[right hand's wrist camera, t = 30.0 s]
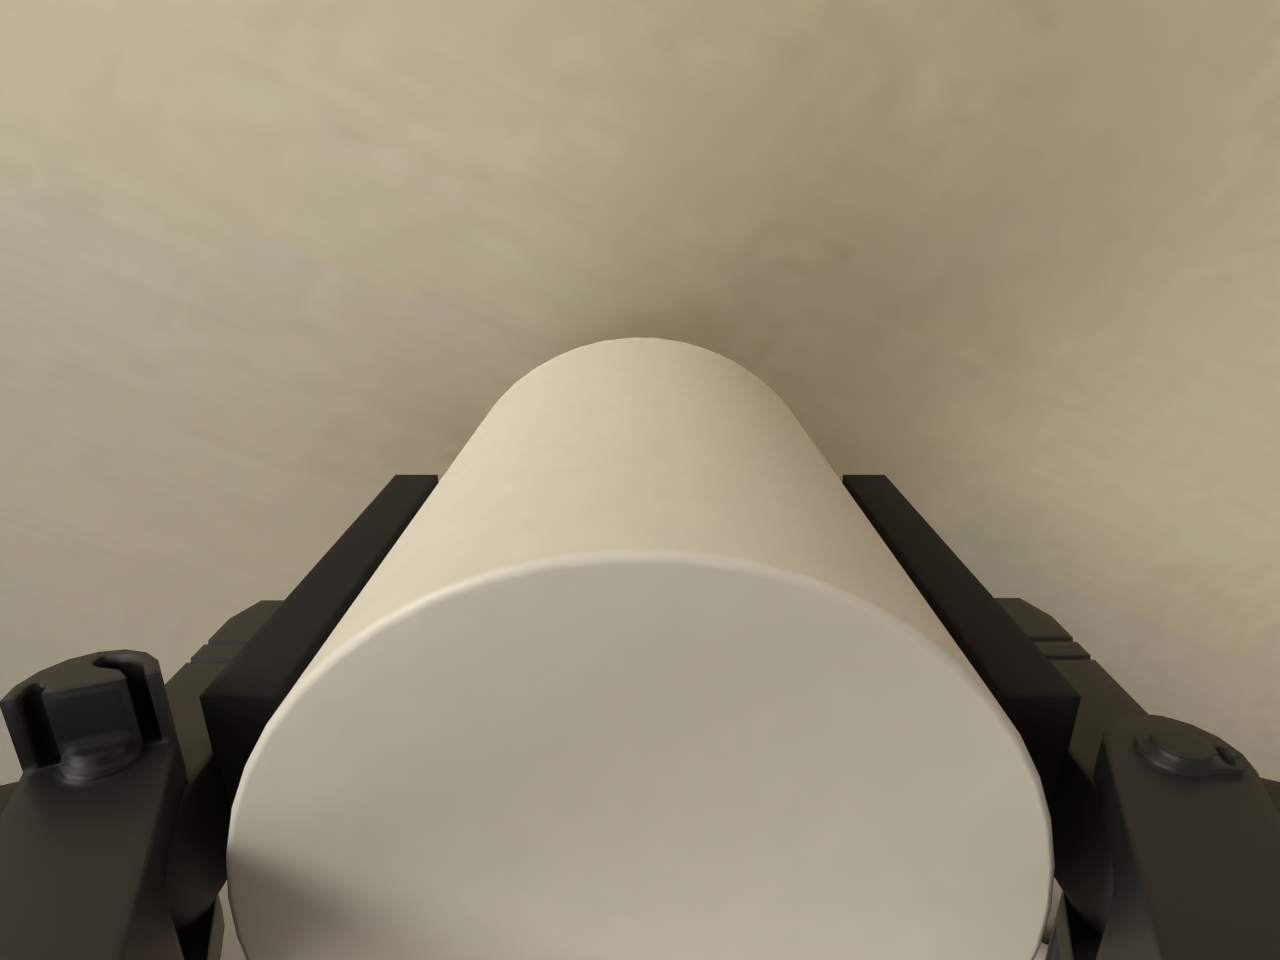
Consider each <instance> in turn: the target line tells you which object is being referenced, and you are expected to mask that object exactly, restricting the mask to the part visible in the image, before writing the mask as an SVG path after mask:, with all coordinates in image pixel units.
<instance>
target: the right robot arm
mask: <svg viewBox="0 0 1280 960" xmlns="http://www.w3.org/2000/svg"><path fill="white" fill-rule="evenodd" d="M437 484H438V475H395V476H394V478H393V479H392V480H391V481H390V482H389V483H388V484H387V485H386V487H385V488H384V489H383V490H382V491H381V492H380V493H379V494H378V496H377V497H376V498H375V499H374V500H373V501H372V502H371V504H370V505H369V506H368V507H367V508H366V509H365V510H364V511H363V513H362V514H361V515H360V516H359V517H358V518H357V519H356V520H355V522H354V523H353V524H352V525H351V526H350V527H349V528H348V529H347V531H346V532H345V533H344V534H343V535H342V536H341V537H340V538H339V540H338V541H337V542H336V543H335V544H334V545H333V546H332V547H331V549H330V550H329V551H328V552H327V553H326V554H325V555H324V557H323V558H322V559H321V560H320V561H319V562H318V563H317V564H316V566H315V567H314V568H313V569H312V570H311V571H310V572H309V573H308V575H307V576H306V577H305V578H304V579H303V580H302V581H301V582H300V584H299V585H298V586H297V587H296V588H295V589H294V590H293V591H292V593H291V594H290V595H289V596H288V597H287V598H286V599H285V600H284V601H260V602H258V603H256V604H255V605H253V606H251V607H249V608H248V609H246V610H244V611H242V612H241V613H239V614H237V615H235V616H234V617H232V618H230V619H229V620H228V621H227V622H226V623H225V624H224V625H223V626H222V627H221V628H220V629H219V630H218V631H217V632H216V633H215V634H214V635H213V636H212V637H211V638H210V639H209V643H208V645H203V646H202V648H201V649H200V650H199V651H198V652H197V653H196V654H195V655H194V656H193V657H192V658H191V663H186V664H185V665H184V666H183V667H182V668H181V669H180V670H179V671H178V672H177V673H176V674H175V675H174V676H173V677H172V678H171V679H170V680H169V681H168V682H167V683H166V684H165V685H164V681H163V677H162V674H161V670H160V666H159V662H158V660H157V659H155V658H154V657H152V656H151V655H149V654H148V653H146V652H140V651H133V650H115V651H104V652H97V653H93V654H89V655H85V656H81V657H77V658H73V659H69V660H66V661H64V662H61V663H59V664H57V665H54V666H52V667H49V668H47V669H44V670H42V671H39V672H38V673H36V674H34V675H33V676H31V677H29V678H28V679H26V680H25V681H23V682H21V683H20V684H18V685H16V686H15V687H14V688H13V689H12V690H11V691H10V692H9V693H8V694H7V695H6V696H5V697H4V698H3V699H2V700H1V701H0V708H1V710H2V713H3V716H4V719H5V722H6V725H7V728H8V730H9V733H10V736H11V739H12V742H13V745H14V747H15V750H16V753H17V756H18V759H19V762H20V765H21V767H22V770H23V775H22V776H21V778H20V780H19V782H15V783H11V784H6V785H1V786H0V960H220V957H221V949H222V942H223V934H224V926H225V925H224V918H223V911H222V906H221V902H220V899H219V895H218V893H219V892H220V890H221V888H222V887H223V885H224V883H225V882H226V880H227V865H226V851H227V843H228V835H229V827H230V819H231V811H232V806H233V803H234V799H235V796H236V793H237V790H238V787H239V783H240V780H241V777H242V774H243V771H244V767H245V765H246V763H247V761H248V759H249V757H250V755H251V753H252V751H253V749H254V747H255V745H256V744H257V742H258V740H259V738H260V736H261V734H262V732H263V730H264V728H265V726H266V724H267V723H268V721H269V720H270V719H271V717H272V716H273V714H274V713H275V712H276V710H277V709H278V707H279V706H280V705H281V703H282V702H283V700H284V699H285V698H286V696H287V695H288V693H289V692H290V691H291V689H292V688H293V686H294V685H295V684H296V682H297V681H298V679H299V678H300V677H301V675H302V674H303V672H304V671H305V670H306V668H307V667H308V665H309V664H310V663H311V661H312V660H313V658H314V657H315V656H316V654H317V653H318V651H319V650H320V649H321V647H322V646H323V644H324V643H325V642H326V640H327V639H328V637H329V636H330V634H331V633H332V632H333V630H334V629H335V627H336V626H337V625H338V623H339V622H340V620H341V619H342V618H343V616H344V615H345V613H346V612H347V611H348V609H349V608H350V606H351V605H352V604H353V602H354V601H355V599H356V598H357V597H358V595H359V594H360V592H361V591H362V590H363V588H364V587H365V585H366V584H367V583H368V581H369V580H370V578H371V577H372V576H373V574H374V573H375V571H376V570H377V569H378V567H379V566H380V564H381V563H382V562H383V560H384V559H385V557H386V556H387V555H388V553H389V552H390V550H391V549H392V548H393V546H394V545H395V543H396V542H397V541H398V539H399V538H400V536H401V535H402V533H403V532H404V531H405V529H406V528H407V526H408V525H409V524H410V522H411V521H412V519H413V518H414V517H415V515H416V514H417V512H418V511H419V510H420V508H421V507H422V505H423V504H424V503H425V501H426V500H427V498H428V497H429V496H430V494H431V493H432V491H433V490H434V489H435V487H436V486H437ZM842 484H843V485H844V486H845V488H846V489H847V491H848V492H849V493H850V495H851V496H852V498H853V499H854V500H855V502H856V503H857V505H858V506H859V507H860V509H861V510H862V512H863V513H864V515H865V516H866V517H867V519H868V520H869V522H870V523H871V524H872V526H873V527H874V529H875V530H876V531H877V533H878V534H879V536H880V537H881V538H882V540H883V541H884V543H885V544H886V545H887V547H888V548H889V550H890V551H891V552H892V554H893V555H894V557H895V558H896V560H897V561H898V562H899V564H900V565H901V567H902V568H903V569H904V571H905V572H906V574H907V575H908V576H909V578H910V579H911V581H912V582H913V583H914V585H915V586H916V588H917V589H918V590H919V592H920V593H921V595H922V596H923V598H924V599H925V600H926V602H927V603H928V605H929V606H930V607H931V609H932V610H933V612H934V613H935V614H936V616H937V617H938V619H939V620H940V621H941V623H942V624H943V626H944V627H945V628H946V630H947V631H948V633H949V634H950V635H951V637H952V638H953V640H954V641H955V643H956V644H957V645H958V647H959V648H960V650H961V651H962V652H963V654H964V655H965V657H966V658H967V659H968V661H969V662H970V664H971V665H972V666H973V668H974V669H975V671H976V672H977V673H978V675H979V676H980V678H981V679H982V680H983V682H984V683H985V685H986V686H987V688H988V689H989V690H990V692H991V693H992V695H993V696H994V697H995V699H996V700H997V702H998V703H999V705H1000V706H1001V708H1002V709H1003V710H1004V712H1005V713H1006V715H1007V716H1008V718H1009V719H1010V721H1011V722H1012V723H1013V725H1014V726H1015V728H1016V729H1017V731H1018V732H1019V734H1020V735H1021V737H1022V739H1023V742H1024V744H1025V746H1026V748H1027V750H1028V752H1029V754H1030V757H1031V759H1032V761H1033V763H1034V765H1035V767H1036V770H1037V772H1038V774H1039V776H1040V779H1041V783H1042V787H1043V791H1044V795H1045V798H1046V802H1047V806H1048V810H1049V813H1050V817H1051V825H1052V838H1053V850H1054V863H1055V870H1054V877H1055V878H1056V880H1057V882H1058V883H1059V885H1060V887H1061V888H1062V890H1063V891H1062V895H1061V899H1060V902H1059V906H1058V910H1057V914H1056V918H1055V922H1054V926H1053V930H1052V934H1051V937H1050V941H1049V945H1048V949H1047V953H1046V957H1045V960H1280V782H1277V781H1272V780H1267V779H1263V778H1260V777H1259V775H1258V773H1257V771H1256V770H1255V769H1254V768H1253V767H1252V765H1251V764H1250V763H1249V762H1248V760H1247V759H1246V758H1245V757H1244V756H1243V754H1241V753H1240V752H1239V751H1237V750H1236V749H1234V748H1233V747H1232V746H1230V745H1229V744H1227V743H1226V742H1225V741H1223V740H1222V739H1220V738H1219V737H1217V736H1215V735H1212V734H1210V733H1208V732H1206V731H1204V730H1202V729H1200V728H1198V727H1196V726H1193V725H1191V724H1188V723H1184V722H1181V721H1178V720H1174V719H1171V718H1167V717H1164V716H1156V715H1148V714H1147V712H1146V711H1145V710H1144V709H1143V708H1142V707H1141V706H1140V705H1139V704H1138V703H1137V702H1136V701H1135V700H1134V699H1133V698H1132V697H1131V696H1130V695H1129V694H1128V693H1127V692H1126V691H1125V690H1124V689H1123V688H1122V687H1121V686H1120V685H1119V684H1118V683H1117V682H1116V681H1115V680H1114V679H1113V678H1112V677H1111V676H1110V675H1109V674H1108V673H1107V672H1106V671H1105V670H1104V669H1103V668H1102V667H1101V666H1100V665H1099V664H1098V663H1097V662H1096V661H1095V660H1091V659H1090V655H1089V654H1088V653H1087V652H1086V651H1085V650H1084V649H1083V648H1082V647H1081V646H1080V645H1079V644H1078V643H1077V642H1073V638H1072V636H1071V635H1070V634H1069V633H1068V632H1067V631H1066V630H1065V629H1064V628H1063V627H1062V626H1061V625H1060V624H1059V623H1058V622H1057V621H1056V620H1055V619H1054V618H1053V617H1052V616H1050V615H1048V614H1047V613H1045V612H1043V611H1041V610H1040V609H1038V608H1036V607H1034V606H1032V605H1031V604H1029V603H1027V602H1025V601H1024V600H1022V599H1020V598H993V596H992V595H991V594H990V593H989V592H988V591H987V590H986V589H985V587H984V586H983V585H982V584H981V583H980V582H979V581H978V580H977V578H976V577H975V576H974V575H973V574H972V573H971V572H970V571H969V569H968V568H967V567H966V566H965V565H964V564H963V563H962V562H961V560H960V559H959V558H958V557H957V556H956V555H955V554H954V553H953V551H952V550H951V549H950V548H949V547H948V546H947V545H946V544H945V542H944V541H943V540H942V539H941V538H940V537H939V536H938V534H937V533H936V532H935V531H934V530H933V529H932V528H931V527H930V525H929V524H928V523H927V522H926V521H925V520H924V519H923V518H922V516H921V515H920V514H919V513H918V512H917V511H916V510H915V509H914V507H913V506H912V505H911V504H910V503H909V502H908V501H907V500H906V498H905V497H904V496H903V495H902V494H901V493H900V492H899V491H898V489H897V488H896V487H895V486H894V485H893V484H892V483H891V482H890V480H889V479H888V478H887V477H886V476H885V475H843V480H842Z"/></svg>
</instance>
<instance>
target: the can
mask: <svg viewBox="0 0 1280 960" xmlns="http://www.w3.org/2000/svg"><path fill="white" fill-rule="evenodd" d="M226 865H227V884H228V898H229V903H230V907H231V911H232V916H233V920H234V924H235V929H236V933H237V937H238V939H239V942H240V944H241V947H242V949H243V951H244V954H245V956H246V959H247V960H1034V959H1035V956H1036V954H1037V952H1038V950H1039V948H1040V945H1041V941H1042V938H1043V934H1044V930H1045V927H1046V923H1047V920H1048V916H1049V912H1050V909H1051V901H1052V891H1053V880H1054V870H1055V863H1054V850H1053V838H1052V825H1051V817H1050V813H1049V810H1048V806H1047V802H1046V798H1045V795H1044V791H1043V787H1042V783H1041V779H1040V776H1039V774H1038V772H1037V770H1036V767H1035V765H1034V763H1033V761H1032V759H1031V757H1030V754H1029V752H1028V750H1027V748H1026V746H1025V744H1024V742H1023V739H1022V737H1021V735H1020V734H1019V732H1018V731H1017V729H1016V728H1015V726H1014V725H1013V723H1012V722H1011V721H1010V719H1009V718H1008V716H1007V715H1006V713H1005V712H1004V710H1003V709H1002V708H1001V706H1000V705H999V703H998V702H997V700H996V699H995V697H994V696H993V695H992V693H991V692H990V690H989V689H988V688H987V686H986V685H985V683H984V682H983V680H982V679H981V678H980V676H979V675H978V673H977V672H976V671H975V669H974V668H973V666H972V665H971V664H970V662H969V661H968V659H967V658H966V657H965V655H964V654H963V652H962V651H961V650H960V648H959V647H958V645H957V644H956V643H955V641H954V640H953V638H952V637H951V635H950V634H949V633H948V631H947V630H946V628H945V627H944V626H943V624H942V623H941V621H940V620H939V619H938V617H937V616H936V614H935V613H934V612H933V610H932V609H931V607H930V606H929V605H928V603H927V602H926V600H925V599H924V598H923V596H922V595H921V593H920V592H919V590H918V589H917V588H916V586H915V585H914V583H913V582H912V581H911V579H910V578H909V576H908V575H907V574H906V572H905V571H904V569H903V568H902V567H901V565H900V564H899V562H898V561H897V560H896V558H895V557H894V555H893V554H892V552H891V551H890V550H889V548H888V547H887V545H886V544H885V543H884V541H883V540H882V538H881V537H880V536H879V534H878V533H877V531H876V530H875V529H874V527H873V526H872V524H871V523H870V522H869V520H868V519H867V517H866V516H865V515H864V513H863V512H862V510H861V509H860V507H859V506H858V505H857V503H856V502H855V500H854V499H853V498H852V496H851V495H850V493H849V492H848V491H847V489H846V488H845V486H844V485H843V484H842V482H841V481H840V479H839V478H838V477H837V475H836V474H835V472H834V471H833V470H832V468H831V467H830V465H829V464H828V462H827V461H826V460H825V458H824V457H823V455H822V454H821V453H820V451H819V450H818V448H817V447H816V446H815V444H814V443H813V441H812V440H811V439H810V437H809V436H808V434H807V433H806V432H805V430H804V429H803V427H802V426H801V424H800V423H799V422H798V420H797V419H796V417H795V416H794V415H793V413H792V412H791V410H790V409H789V408H788V406H787V405H786V404H785V403H784V402H783V401H782V400H781V398H780V397H779V396H778V395H777V394H776V393H775V392H774V391H773V390H772V389H771V388H770V387H769V386H768V385H767V384H765V383H764V382H763V381H762V380H760V379H759V378H758V377H757V376H756V375H754V374H753V373H752V372H750V371H749V370H747V369H746V368H744V367H742V366H741V365H739V364H737V363H736V362H734V361H732V360H731V359H729V358H726V357H724V356H722V355H720V354H717V353H715V352H713V351H710V350H708V349H705V348H702V347H698V346H695V345H692V344H688V343H685V342H680V341H673V340H667V339H660V338H623V339H614V340H605V341H601V342H597V343H593V344H589V345H585V346H581V347H578V348H576V349H573V350H571V351H568V352H566V353H563V354H561V355H558V356H556V357H554V358H552V359H551V360H549V361H547V362H545V363H544V364H542V365H540V366H538V367H536V368H535V369H533V370H532V371H531V372H529V373H528V374H527V375H525V376H524V377H523V378H522V379H520V380H519V381H518V382H516V383H515V384H514V385H513V386H512V387H511V388H510V389H509V390H508V391H507V392H506V393H505V394H504V395H503V396H502V397H501V398H500V399H499V400H498V401H497V402H496V404H495V405H494V406H493V408H492V409H491V410H490V412H489V413H488V415H487V416H486V417H485V419H484V420H483V421H482V423H481V424H480V425H479V427H478V428H477V430H476V431H475V432H474V434H473V435H472V437H471V438H470V440H469V441H468V442H467V444H466V445H465V447H464V448H463V449H462V451H461V452H460V454H459V455H458V456H457V458H456V459H455V461H454V462H453V463H452V465H451V466H450V468H449V469H448V470H447V472H446V473H445V475H444V476H443V477H442V479H441V480H440V482H439V483H438V484H437V486H436V487H435V489H434V490H433V491H432V493H431V494H430V496H429V497H428V498H427V500H426V501H425V503H424V504H423V505H422V507H421V508H420V510H419V511H418V512H417V514H416V515H415V517H414V518H413V519H412V521H411V522H410V524H409V525H408V526H407V528H406V529H405V531H404V532H403V533H402V535H401V536H400V538H399V539H398V541H397V542H396V543H395V545H394V546H393V548H392V549H391V550H390V552H389V553H388V555H387V556H386V557H385V559H384V560H383V562H382V563H381V564H380V566H379V567H378V569H377V570H376V571H375V573H374V574H373V576H372V577H371V578H370V580H369V581H368V583H367V584H366V585H365V587H364V588H363V590H362V591H361V592H360V594H359V595H358V597H357V598H356V599H355V601H354V602H353V604H352V605H351V606H350V608H349V609H348V611H347V612H346V613H345V615H344V616H343V618H342V619H341V620H340V622H339V623H338V625H337V626H336V627H335V629H334V630H333V632H332V633H331V634H330V636H329V637H328V639H327V640H326V642H325V643H324V644H323V646H322V647H321V649H320V650H319V651H318V653H317V654H316V656H315V657H314V658H313V660H312V661H311V663H310V664H309V665H308V667H307V668H306V670H305V671H304V672H303V674H302V675H301V677H300V678H299V679H298V681H297V682H296V684H295V685H294V686H293V688H292V689H291V691H290V692H289V693H288V695H287V696H286V698H285V699H284V700H283V702H282V703H281V705H280V706H279V707H278V709H277V710H276V712H275V713H274V714H273V716H272V717H271V719H270V720H269V721H268V723H267V724H266V726H265V728H264V730H263V732H262V734H261V736H260V738H259V740H258V742H257V744H256V745H255V747H254V749H253V751H252V753H251V755H250V757H249V759H248V761H247V763H246V765H245V767H244V771H243V774H242V777H241V780H240V783H239V787H238V790H237V793H236V796H235V799H234V803H233V806H232V811H231V819H230V827H229V835H228V843H227V851H226Z"/></svg>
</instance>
